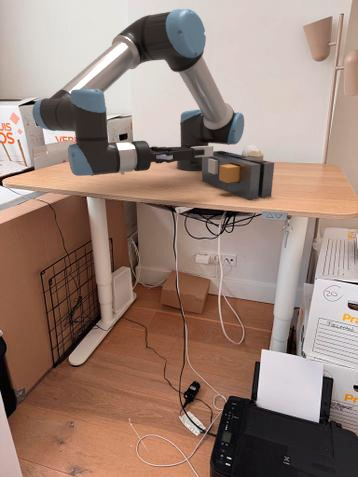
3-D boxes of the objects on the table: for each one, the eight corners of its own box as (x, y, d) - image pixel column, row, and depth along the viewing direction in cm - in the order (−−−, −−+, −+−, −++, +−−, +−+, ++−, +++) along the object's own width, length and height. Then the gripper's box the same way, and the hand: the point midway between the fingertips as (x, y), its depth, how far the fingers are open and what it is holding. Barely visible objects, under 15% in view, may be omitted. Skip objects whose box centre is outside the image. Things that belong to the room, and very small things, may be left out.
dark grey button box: (249, 200, 97) (251, 164, 93) (201, 180, 120) (202, 151, 117) (271, 196, 100) (274, 162, 96) (220, 178, 124) (221, 150, 120)
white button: (214, 174, 110) (215, 160, 108) (207, 172, 114) (208, 158, 112) (226, 173, 112) (226, 159, 110) (218, 170, 115) (219, 157, 114)
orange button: (227, 182, 99) (227, 167, 97) (219, 179, 102) (219, 165, 101) (239, 181, 100) (240, 166, 99) (231, 178, 104) (232, 164, 102)
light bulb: (255, 175, 128) (257, 145, 123) (238, 174, 130) (239, 145, 126) (259, 172, 133) (262, 143, 129) (243, 170, 136) (245, 142, 132)
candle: (262, 177, 124) (264, 150, 120) (260, 180, 119) (263, 152, 115) (247, 176, 126) (249, 149, 122) (245, 179, 121) (246, 151, 117)
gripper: (125, 167, 92) (200, 161, 102) (141, 175, 82) (223, 167, 91) (123, 139, 90) (200, 135, 99) (140, 143, 79) (225, 139, 88)
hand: (211, 150), depth 95 cm, fingers closed
